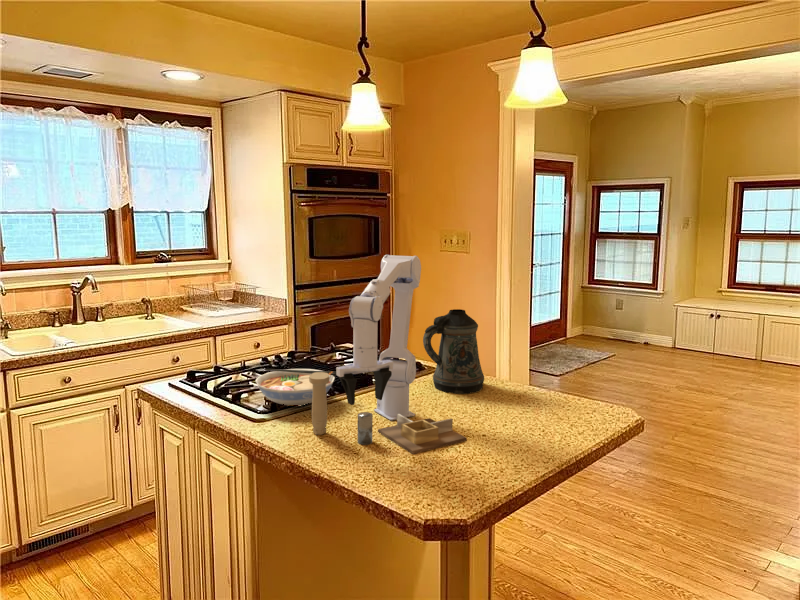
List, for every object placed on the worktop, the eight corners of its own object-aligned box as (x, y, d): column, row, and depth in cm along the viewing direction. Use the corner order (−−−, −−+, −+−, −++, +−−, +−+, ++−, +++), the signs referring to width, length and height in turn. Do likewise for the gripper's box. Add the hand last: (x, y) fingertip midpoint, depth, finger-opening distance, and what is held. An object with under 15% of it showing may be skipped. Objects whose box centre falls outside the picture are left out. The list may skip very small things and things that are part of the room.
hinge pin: (354, 441, 146) (355, 413, 145) (367, 438, 148) (367, 411, 147) (362, 446, 143) (362, 418, 142) (375, 443, 145) (375, 415, 144)
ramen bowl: (237, 412, 166) (237, 383, 165) (272, 388, 188) (272, 363, 187) (323, 420, 160) (322, 390, 159) (348, 395, 182) (348, 369, 181)
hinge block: (377, 432, 152) (378, 417, 152) (429, 421, 161) (429, 407, 160) (412, 454, 139) (412, 438, 138) (466, 440, 147) (467, 426, 147)
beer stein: (494, 386, 193) (496, 310, 189) (457, 400, 179) (459, 318, 175) (453, 376, 204) (455, 304, 200) (415, 388, 190) (417, 311, 186)
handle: (330, 428, 154) (330, 372, 152) (327, 437, 148) (327, 379, 146) (311, 428, 154) (311, 372, 152) (308, 437, 148) (307, 379, 146)
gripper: (345, 353, 135) (345, 411, 137) (400, 346, 143) (399, 401, 145) (332, 347, 141) (332, 402, 143) (384, 340, 148) (384, 393, 151)
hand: (365, 401), depth 144 cm, fingers open, 7 cm apart
